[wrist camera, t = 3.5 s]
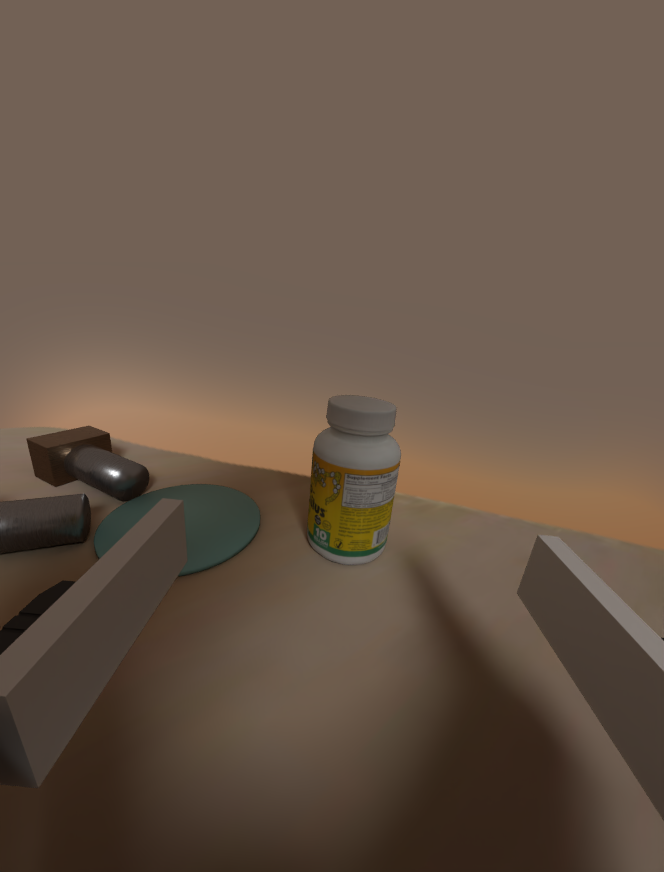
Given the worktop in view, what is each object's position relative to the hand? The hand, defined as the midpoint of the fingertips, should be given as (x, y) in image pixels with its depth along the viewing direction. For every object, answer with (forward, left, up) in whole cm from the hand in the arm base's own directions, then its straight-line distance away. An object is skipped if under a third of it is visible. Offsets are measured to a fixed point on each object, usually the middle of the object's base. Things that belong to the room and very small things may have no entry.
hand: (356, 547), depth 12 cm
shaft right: (+20, -13, -6) cm, 25 cm away
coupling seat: (+11, -8, -6) cm, 15 cm away
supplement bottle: (0, -8, -6) cm, 10 cm away
